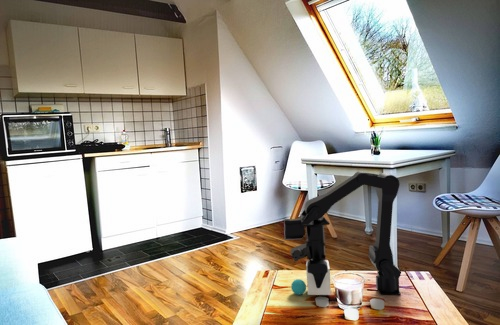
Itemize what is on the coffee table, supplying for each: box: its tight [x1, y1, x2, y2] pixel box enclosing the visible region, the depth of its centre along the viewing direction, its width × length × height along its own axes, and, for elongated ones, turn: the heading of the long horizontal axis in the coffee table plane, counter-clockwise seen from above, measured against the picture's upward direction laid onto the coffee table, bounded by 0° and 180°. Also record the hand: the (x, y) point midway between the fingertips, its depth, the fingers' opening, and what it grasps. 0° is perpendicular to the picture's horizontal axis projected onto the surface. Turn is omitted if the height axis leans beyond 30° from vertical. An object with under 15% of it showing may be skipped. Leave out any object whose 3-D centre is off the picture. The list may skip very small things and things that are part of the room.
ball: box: [290, 278, 307, 296], centre depth 124 cm, size 5×5×5 cm
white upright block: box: [305, 259, 332, 296], centre depth 123 cm, size 8×8×9 cm
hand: (318, 282), depth 123 cm, fingers closed on white upright block, 7 cm apart
